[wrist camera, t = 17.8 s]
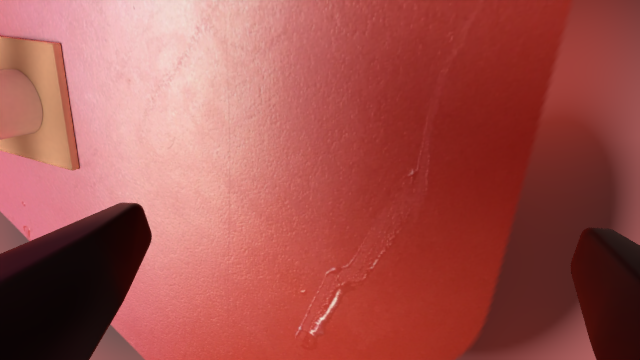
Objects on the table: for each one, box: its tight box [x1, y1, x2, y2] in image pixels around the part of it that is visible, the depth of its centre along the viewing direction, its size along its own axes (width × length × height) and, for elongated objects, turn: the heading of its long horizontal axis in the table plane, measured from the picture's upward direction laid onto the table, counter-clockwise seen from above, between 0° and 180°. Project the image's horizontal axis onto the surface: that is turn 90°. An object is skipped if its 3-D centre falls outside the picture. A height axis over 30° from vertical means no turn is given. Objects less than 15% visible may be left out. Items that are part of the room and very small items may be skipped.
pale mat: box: [0, 36, 79, 170], centre depth 30 cm, size 9×9×1 cm
